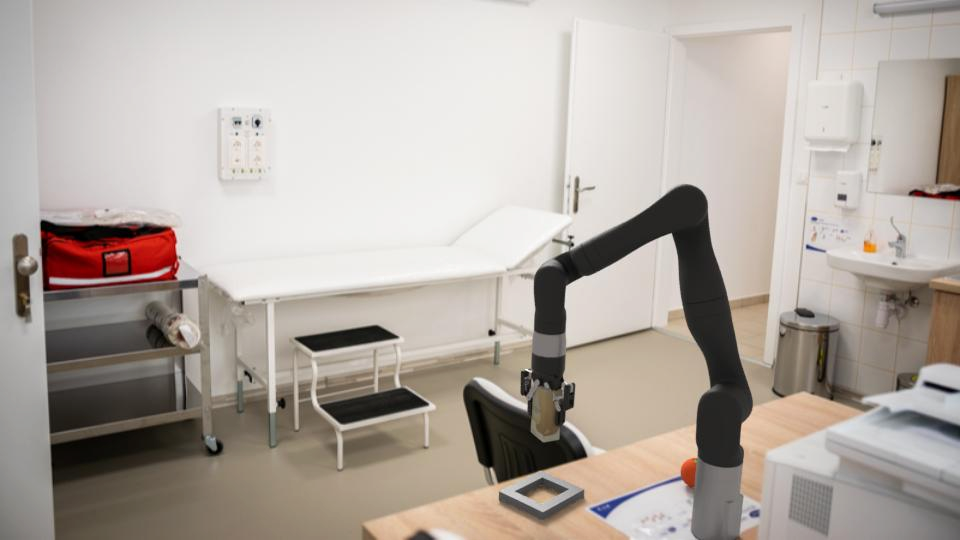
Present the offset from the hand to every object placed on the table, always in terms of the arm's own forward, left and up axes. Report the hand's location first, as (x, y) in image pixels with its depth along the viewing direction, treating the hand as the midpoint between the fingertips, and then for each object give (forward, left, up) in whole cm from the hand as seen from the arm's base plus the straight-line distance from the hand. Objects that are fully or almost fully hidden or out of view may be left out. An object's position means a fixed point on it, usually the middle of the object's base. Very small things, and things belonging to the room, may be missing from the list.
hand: (545, 420), depth 178 cm
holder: (0, 0, -19) cm, 19 cm away
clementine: (-22, -31, -19) cm, 43 cm away
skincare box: (0, 0, -4) cm, 4 cm away
